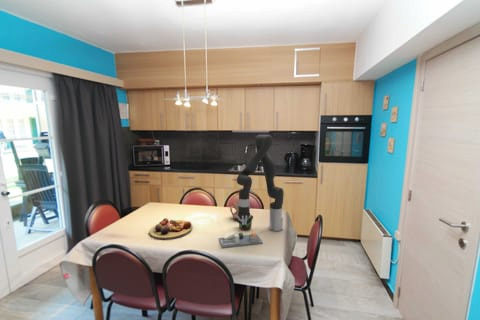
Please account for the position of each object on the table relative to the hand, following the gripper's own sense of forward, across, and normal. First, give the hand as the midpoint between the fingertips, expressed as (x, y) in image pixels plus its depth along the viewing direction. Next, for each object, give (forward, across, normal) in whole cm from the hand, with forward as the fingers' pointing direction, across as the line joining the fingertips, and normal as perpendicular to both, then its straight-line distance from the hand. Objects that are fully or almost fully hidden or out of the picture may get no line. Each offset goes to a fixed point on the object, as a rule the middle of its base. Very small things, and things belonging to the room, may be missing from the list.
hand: (243, 229), depth 159 cm
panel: (+10, -2, +3) cm, 10 cm away
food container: (+10, +5, +21) cm, 24 cm away
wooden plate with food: (+11, -49, +32) cm, 60 cm away
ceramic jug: (+10, +7, +42) cm, 44 cm away
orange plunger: (+8, +7, 0) cm, 11 cm away
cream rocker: (+6, -9, +6) cm, 12 cm away
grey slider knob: (+8, -5, 0) cm, 10 cm away
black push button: (+8, -1, +6) cm, 10 cm away
